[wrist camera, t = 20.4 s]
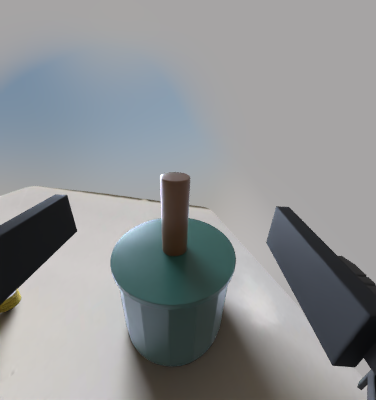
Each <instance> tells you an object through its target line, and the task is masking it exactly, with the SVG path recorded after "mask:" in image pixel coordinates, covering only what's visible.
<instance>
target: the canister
mask: <svg viewBox="0 0 376 400" xmlns="http://www.w3.org/2000/svg"><path fill="white" fill-rule="evenodd" d="M227 286H228V285H227ZM227 286H226V288H225V289H224V290H223V291H222V292H221V293H219V294H218V295H217V296H215V297H214V298H213V299H211V300H209V301H207V302H205V303H203V304H200V305H197V306H194V307H190V308H185V309H175V310H168V309H158V308H152V307H149V306H146V305H143V304H140V303H138V302H136V301H134V300H132V299H131V298H130V297H128V296H127V295H125V294H124V293H123V292H122V291H121V290H120V293H121V298H122V304H123V309H124V315H125V320H126V325H127V328H128V332H129V336H130V338H131V341H132V343H133V345H134V346H135V348H136V349H137V350H138V352H139V353H140V354H141V355H142V356H143V357H145V358H146V359H148V360H149V361H151V362H153V363H156V364H158V365H162V366H181V365H185V364H188V363H190V362H192V361H194V360H196V359H198V358H199V357H201V356H202V355H203V354H204V353H205V352H206V351H207V350H208V349H209V347H210V346H211V345H212V343H213V341H214V340H215V337H216V335H217V332H218V330H219V328H220V323H221V318H222V312H223V307H224V302H225V297H226V291H227Z"/></svg>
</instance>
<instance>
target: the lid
mask: <svg viewBox="0 0 376 400" xmlns="http://www.w3.org/2000/svg"><path fill="white" fill-rule="evenodd" d="M160 186H161V187H160V190H161V218H160V219H155V220H151V221H148V222H145V223H142V224H140V225H138V226H136V227H134V228H133V229H131V230H130V231H128V232H127V233H126V234H125V235H123V236H122V237H121V238H120V240H119V241H118V242H117V244H116V245H115V247H114V249H113V252H112V255H111V271H112V275H113V278H114V280H115V283H116V284H117V286H118V287H119V289H120V290H121V291H122V292H123V293H124V294H125V295H127V296H128V297H130V298H131V299H132V300H134V301H136V302H138V303H140V304H143V305H146V306H149V307H152V308H158V309H168V310H175V309H185V308H190V307H194V306H197V305H200V304H203V303H205V302H207V301H209V300H211V299H213V298H214V297H215V296H217V295H218V294H219V293H221V292H222V291H223V290H224V289H225V288H226V286H227V285H228V283H229V282H230V280H231V278H232V276H233V273H234V269H235V263H236V257H235V252H234V248H233V246H232V244H231V242H230V241H229V240H228V238H227V237H226V236H225V235H224V234H223V233H222V232H221V231H219V230H218V229H216V228H215V227H213V226H211V225H209V224H207V223H205V222H202V221H199V220H195V219H190V218H188V214H189V191H190V176H189V175H187V174H184V173H179V172H170V173H165V174H163V175H161V176H160Z"/></svg>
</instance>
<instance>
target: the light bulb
mask: <svg viewBox="0 0 376 400" xmlns="http://www.w3.org/2000/svg"><path fill="white" fill-rule="evenodd" d="M20 300H21V296H20V293H19V291H18V289H17V290H16V291H14V292H13V293H12V294H11V295H10V296H9V297H8V298H7V299H6V300H5V301H4V302H3V303H2V304H1V305H0V313H2V312H6V311H8V310H10V309H12V308H14V307H15V306H16V305H17V304H18V303H19V302H20Z"/></svg>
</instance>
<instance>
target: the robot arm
mask: <svg viewBox="0 0 376 400" xmlns="http://www.w3.org/2000/svg"><path fill="white" fill-rule="evenodd" d="M76 232H77V229H76V225H75V222H74V218H73V214H72V211H71V207H70V204H69V200H68V197H67V195H54V196H52V197H50V198H48V199H46V200H45V201H43V202H41V203H39V204H38V205H36V206H34V207H32V208H30V209H29V210H27V211H25V212H23V213H21V214H20V215H18V216H16V217H14V218H13V219H11V220H9V221H7V222H5V223H4V224H2V225H0V305H1V304H2V303H3V302H4V301H5V300H6V299H7V298H8V297H9V296H10V295H11V294H12V293H13V292H14V291H16V290H17V289H18V288H19V287H20V286H21V285H22V284H23V283H24V282H25V281H26V280H27V279H28V278H29V277H30V276H31V275H32V274H33V273H34V272H35V271H36V270H37V269H38V268H39V267H40V266H41V265H42V264H43V263H45V262H46V261H47V260H48V259H49V258H50V257H51V256H52V255H53V254H54V253H55V252H56V251H57V250H58V249H59V248H60V247H61V246H62V245H63V244H64V243H65V242H66V241H67V240H68V239H69V238H70V237H71V236H73V235H74V234H75V233H76ZM266 243H267V245H268V246H269V248H270V250H271V252H272V254H273V256H274V257H275V259H276V261H277V263H278V265H279V267H280V269H281V270H282V272H283V274H284V276H285V278H286V280H287V282H288V284H289V285H290V287H291V289H292V291H293V293H294V295H295V296H296V298H297V300H298V302H299V304H300V306H301V308H302V310H303V311H304V313H305V315H306V317H307V319H308V321H309V323H310V325H311V326H312V328H313V330H314V332H315V334H316V336H317V338H318V339H319V341H320V343H321V345H322V347H323V349H324V351H325V352H326V354H327V356H328V358H329V360H330V362H331V364H332V365H333V366H345V367H356V366H357V365H358V364H359V362H360V361H361V360H362V359H363V358H364V359H365V360H366V362H367V363H368V365H369V366H370V368H371V370H370V371H369V372H368V373H367V374H366V375H365V377H363V378H362V379H361V381H360V382H359V384H358V386H357V387H358V388H359V389H361V390H362V389H363V388H364V387H365V386H366V385H368V387H367V400H376V285H375V283H374V282H373V281H372V280H371V279H369V277H366V275H365V274H364V273H363V272H362V271H361V270H360V269H359V268H358V267H357V266H356V265H355V264H353V263H351V262H350V261H349V260H347V259H345V258H344V257H342V256H337V255H336V254H335V253H334V252H333V251H332V250H331V249H330V248H329V247H328V246H327V245H326V244H325V243H324V242H323V241H322V240H321V239H320V238H319V237H318V236H317V235H316V234H315V233H314V232H313V231H312V230H311V229H310V228H309V227H308V226H307V225H306V224H305V223H304V222H303V221H302V220H301V219H300V218H299V217H298V216H297V215H296V214H295V213H294V212H293V211H292V210H291V209H290V208H289V207H276V210H275V214H274V217H273V220H272V224H271V228H270V231H269V235H268V238H267V242H266Z"/></svg>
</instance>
